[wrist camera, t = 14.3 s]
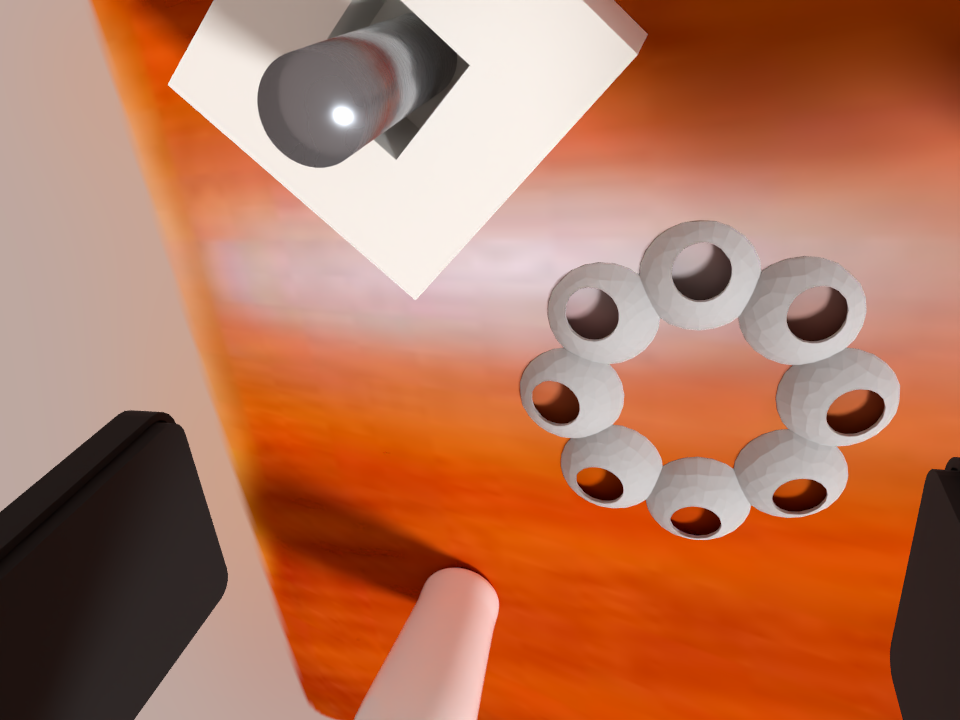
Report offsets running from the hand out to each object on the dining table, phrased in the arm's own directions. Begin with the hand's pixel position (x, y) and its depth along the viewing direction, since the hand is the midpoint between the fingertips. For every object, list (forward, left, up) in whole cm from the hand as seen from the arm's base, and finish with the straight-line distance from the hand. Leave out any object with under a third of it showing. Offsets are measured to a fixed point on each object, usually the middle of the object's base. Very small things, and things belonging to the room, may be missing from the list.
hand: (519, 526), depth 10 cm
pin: (+5, -9, -28) cm, 30 cm away
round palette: (+9, +13, -31) cm, 35 cm away
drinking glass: (+31, +14, -31) cm, 46 cm away
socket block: (+5, -9, -30) cm, 32 cm away
